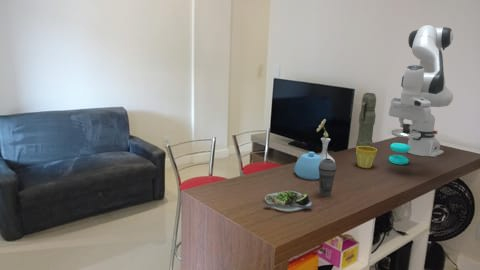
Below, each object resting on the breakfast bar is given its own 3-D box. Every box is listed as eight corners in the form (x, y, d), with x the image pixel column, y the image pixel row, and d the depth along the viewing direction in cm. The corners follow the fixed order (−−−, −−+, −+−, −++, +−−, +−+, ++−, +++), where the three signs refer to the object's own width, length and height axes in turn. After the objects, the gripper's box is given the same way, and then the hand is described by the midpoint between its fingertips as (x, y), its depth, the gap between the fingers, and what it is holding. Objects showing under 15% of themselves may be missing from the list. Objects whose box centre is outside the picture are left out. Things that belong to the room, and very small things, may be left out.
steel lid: (402, 130, 187) (403, 120, 185) (426, 136, 176) (427, 125, 174) (385, 133, 180) (387, 123, 179) (409, 139, 169) (411, 128, 168)
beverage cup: (330, 199, 148) (334, 152, 143) (313, 195, 152) (317, 149, 147) (336, 193, 154) (340, 148, 149) (319, 189, 158) (323, 145, 153)
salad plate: (274, 218, 131) (274, 206, 130) (253, 199, 147) (254, 188, 146) (319, 210, 138) (320, 199, 137) (295, 193, 154) (295, 183, 153)
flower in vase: (318, 159, 200) (321, 114, 194) (338, 163, 193) (342, 117, 187) (307, 165, 189) (311, 118, 183) (328, 170, 183) (332, 121, 177)
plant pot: (372, 163, 195) (374, 146, 193) (377, 170, 185) (379, 151, 183) (352, 162, 196) (354, 145, 194) (356, 168, 186) (358, 150, 184)
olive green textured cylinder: (351, 152, 215) (357, 93, 206) (360, 148, 223) (366, 91, 215) (366, 155, 209) (372, 95, 201) (374, 151, 217) (381, 93, 209)
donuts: (388, 144, 195) (394, 141, 203) (385, 162, 198) (391, 158, 205) (407, 148, 189) (413, 144, 196) (405, 166, 191) (410, 162, 199)
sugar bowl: (288, 175, 175) (289, 152, 172) (305, 167, 186) (306, 146, 183) (315, 183, 165) (317, 159, 162) (331, 175, 176) (333, 152, 173)
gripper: (387, 97, 181) (384, 124, 184) (426, 103, 164) (421, 133, 167) (395, 96, 184) (392, 123, 187) (434, 102, 167) (430, 132, 170)
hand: (406, 128), depth 177 cm, fingers closed on steel lid, 3 cm apart
